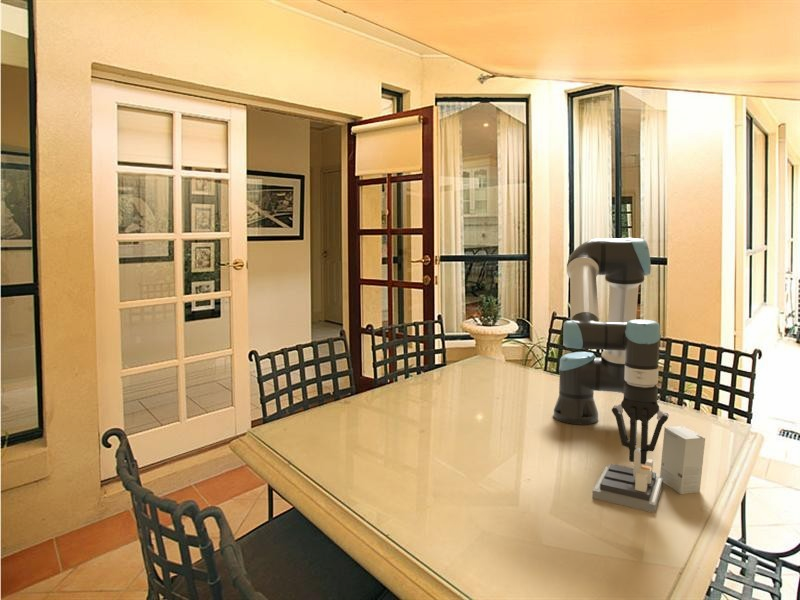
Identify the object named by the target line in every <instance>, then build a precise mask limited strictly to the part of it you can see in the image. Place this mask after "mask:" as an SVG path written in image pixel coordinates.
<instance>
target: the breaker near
mask: <svg viewBox="0 0 800 600" xmlns="http://www.w3.org/2000/svg"><path fill="white" fill-rule="evenodd" d="M647 478H648V475H644V474H639V473H637V474H636V476H635V490H637V491H642V492H646V491H647Z"/></svg>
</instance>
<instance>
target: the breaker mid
mask: <svg viewBox="0 0 800 600" xmlns="http://www.w3.org/2000/svg"><path fill="white" fill-rule="evenodd" d="M652 472H653V469H652V468H651V467H650V466H645V465H642V466H641V468H640V474H644V475H648V478H647V484H651V478H652Z"/></svg>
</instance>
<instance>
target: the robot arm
mask: <svg viewBox="0 0 800 600" xmlns="http://www.w3.org/2000/svg"><path fill="white" fill-rule="evenodd" d="M651 266H652V263H651V256H650V248H649V245H648V242H647V241H646V239H643V238H634V237H625V238H623V237H621V238H617V237H616V238H594V239H593V238H592V239H590V240H587V241H585V242H583V243H582V244H580V245H579V246H578V247H576V248H575V249H574V250H573V251H572V253H571V254H570V256H569V258H568V259H567V262H566V274H567V276H568V278H569V283H570V285H569V287H570V289H569V290H570V293H569V294H570V297H569V298H570V299H569V300H570V301H569V305H570V306H569V307H570V309H569V311H570V316H569V317H570V320H565V321H564V322H563V331H562V332H563V334H562V335H563V337H562V339H563V341H562V342H563V346H564V347H565V348H568V349H577V350H599V351H601V350H603V351H602V352H601V356H600V357H596V355H595V353H593V352H592V351H591V352H590V351H575V352H569V353H565V354H564V355H562V356H561V357H560V358H559V368H558V371H559V384H558V385H559V386H558V398H557V400H556V403H555V404H554V408H553V417H554V418H555V419H556V420H557V419H558V421H559V420H560V421H559V422H562V423H565V422H566V424H570V423H571V425H582V426H584V425H591V424H595V423H597V422H598V421H599V411H598V408H597V405H596V402H595V399H594V391H596V392H611V393H621V394H623V399H622V401H621V402H620V404H618V405H614V406H613V407H612V408H611V413H612V414H613V416H614V417H615V420H616V425H617V428H618V434H619V437H620V442H621V445H622V447H626V448H628V450H629V453H628V455H629V456H628V457H629V462H631V463H633V468H634V470H633V476H636V474H637V473H639V474H640V468H641V466H642V464H645V463H646V461H647V459H648V458H647V455H648V452H654V451H655V449H656V446H657V442H658V439H659V437H660V434H661V431H662V428H663V425H664V424H665V423H666V422H667V420H668V419H669V413H667V412H664V411H663V410H661V409H660V406H659V404H658V393H659V391H658V389H659V387H658V385H657V384H658V383H659V359H660V343H661V341H660V340H661V325H660V323H659V322H657V321H656V320H652V319H651V320H650V319H637V311H638V309H637V308H638V297H639V286H640V285H642V284H643V283H644V282H645V277H646V276H650V274H651V271H652V270H651V268H652V267H651ZM597 276H605V278H604V280H605V281H606V282H607V283H608V284H609V295H608V296H609V297H608V316H607V317H608V318H607V321H600V317H599V316H600V315H599V301H598V300H599V298H598V288H597ZM623 412H625V414H626V415H627V416H628V418H629V437H628V434H627V429H626V424H625V420H624V415H623ZM655 415H657V416H656V419H657V420H658V421H657V423H656V425H655V429H654V431H653V434H652V438H651V441H650V443H649V444H648V441H649V440H648V439H649V438H648V437H649V436H648V435H649V421H650V420H651V419H652V418H654V416H655ZM638 421H640V422H641V430H640V434H641V435H640V447H637V431H638V429H637V428H638Z"/></svg>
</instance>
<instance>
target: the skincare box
mask: <svg viewBox="0 0 800 600" xmlns="http://www.w3.org/2000/svg"><path fill="white" fill-rule="evenodd" d="M663 431H664V432H663V442H662V453H661V461H660V463H661V464H660V471H659V472H660V475H659V477H662V478H663V484H665V485H667V486H669V487H670V488H671V489H672V490H674V491H676V492H677V493H678V494H680V495H685V494H694V493H695V494H696V493H697V494H698V493H700V492H701V483H702V475H703V474H702V473H703V464H704V453H705V447H706V446H705V445H706V438H705V437H704V436H703V435H700V434H698V433H697V432H696V431H694V430H692V429H689V428H687V427H685V426H684V425H677V426H676V425H675V426H674V425H673V426H664V430H663Z"/></svg>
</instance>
